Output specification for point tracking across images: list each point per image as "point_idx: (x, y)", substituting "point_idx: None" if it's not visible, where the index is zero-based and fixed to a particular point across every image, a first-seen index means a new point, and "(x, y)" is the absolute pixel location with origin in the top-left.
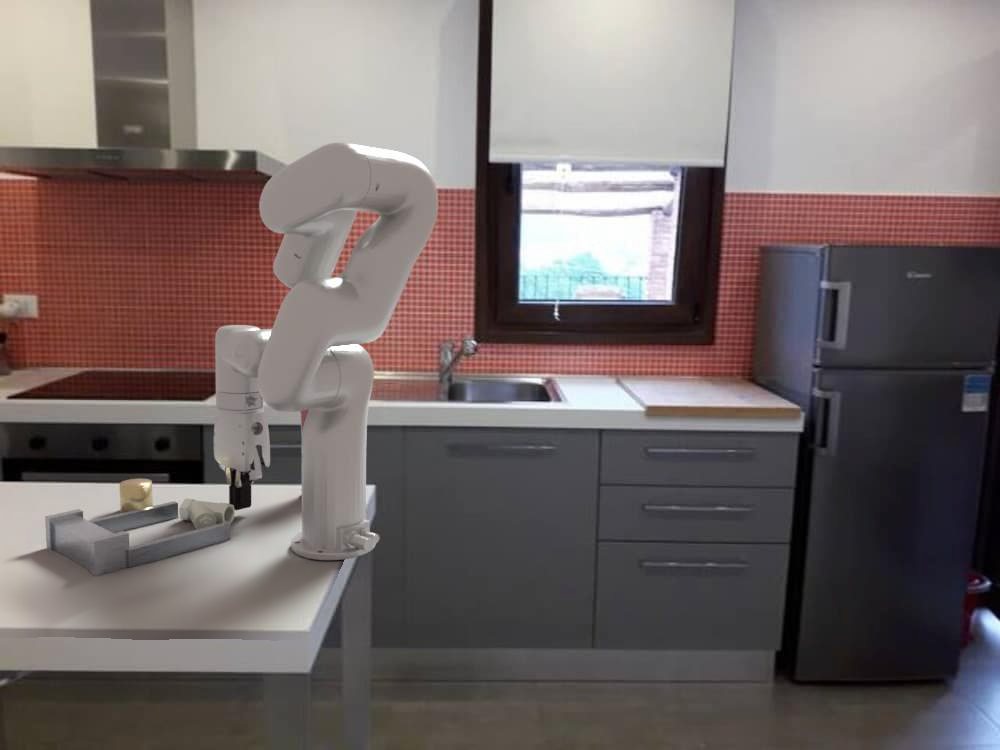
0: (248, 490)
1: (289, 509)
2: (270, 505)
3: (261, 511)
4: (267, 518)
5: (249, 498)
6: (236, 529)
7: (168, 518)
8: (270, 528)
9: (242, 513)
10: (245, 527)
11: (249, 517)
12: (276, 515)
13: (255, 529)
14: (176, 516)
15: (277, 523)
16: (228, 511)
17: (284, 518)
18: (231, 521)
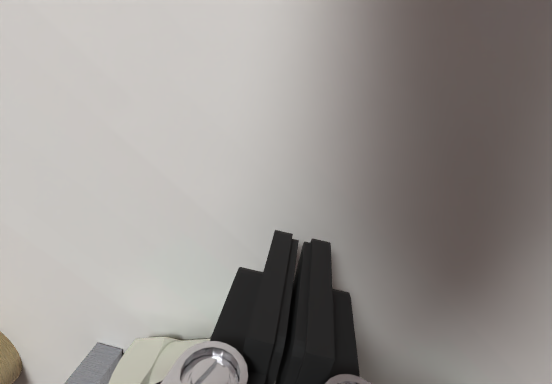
0: (355, 368)
1: (474, 3)
2: (296, 14)
3: (332, 141)
4: (442, 213)
5: (351, 309)
6: (404, 367)
7: None
8: (549, 313)
9: (272, 214)
10: (424, 340)
11: (346, 242)
12: (461, 151)
13: (483, 343)
14: (119, 359)
15: (546, 248)
16: None
17: (542, 169)
18: None
